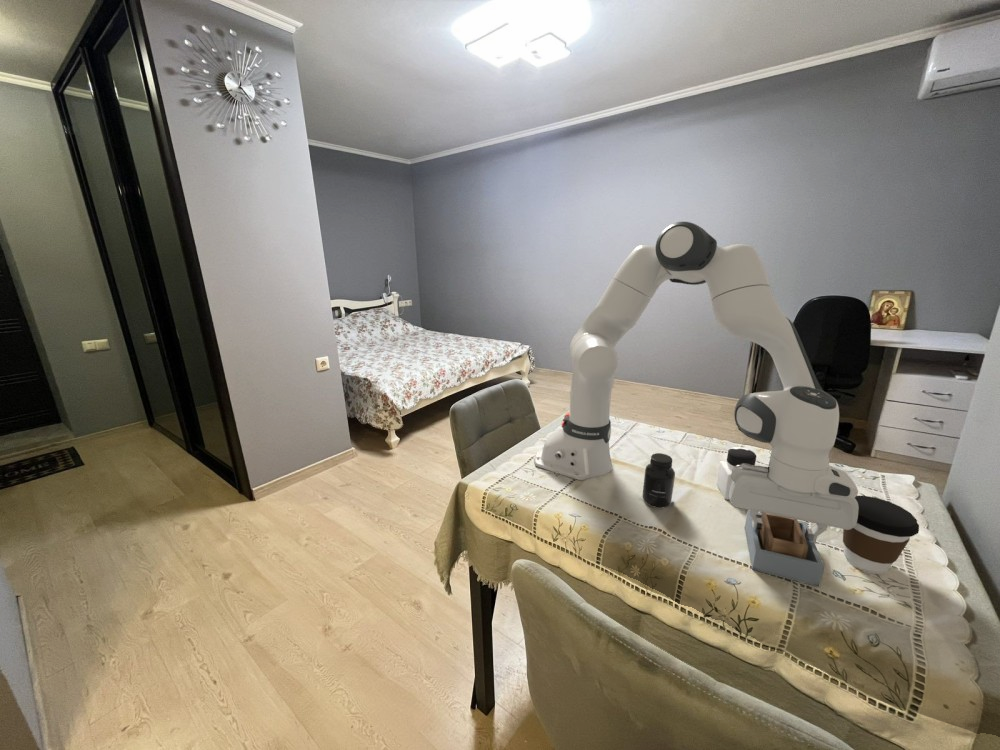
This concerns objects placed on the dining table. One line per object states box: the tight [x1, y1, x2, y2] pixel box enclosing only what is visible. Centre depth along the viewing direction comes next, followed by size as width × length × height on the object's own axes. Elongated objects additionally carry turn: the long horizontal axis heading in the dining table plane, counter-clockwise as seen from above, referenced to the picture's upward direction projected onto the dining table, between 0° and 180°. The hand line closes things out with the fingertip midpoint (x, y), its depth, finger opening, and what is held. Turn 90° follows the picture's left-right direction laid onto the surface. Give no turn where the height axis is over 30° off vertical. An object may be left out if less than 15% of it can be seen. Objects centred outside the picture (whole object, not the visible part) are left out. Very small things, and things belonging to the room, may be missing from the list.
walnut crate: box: [758, 512, 808, 560], centre depth 80 cm, size 6×9×6 cm, turn 156°
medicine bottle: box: [716, 446, 757, 501], centre depth 101 cm, size 7×7×12 cm
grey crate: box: [744, 509, 825, 588], centre depth 81 cm, size 11×14×4 cm
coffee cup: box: [842, 495, 920, 575], centre depth 78 cm, size 11×11×12 cm
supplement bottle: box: [642, 452, 676, 509], centre depth 99 cm, size 7×7×12 cm
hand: (782, 533), depth 81 cm, fingers open, 8 cm apart
